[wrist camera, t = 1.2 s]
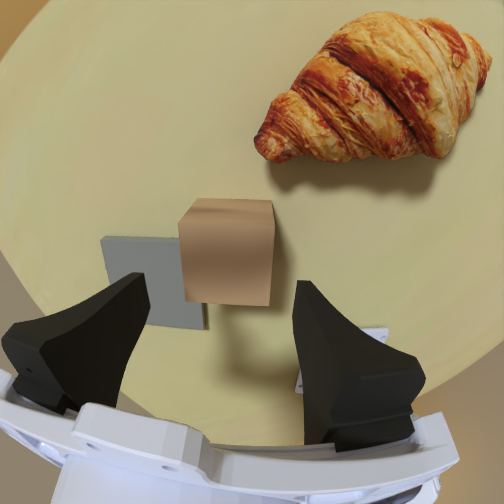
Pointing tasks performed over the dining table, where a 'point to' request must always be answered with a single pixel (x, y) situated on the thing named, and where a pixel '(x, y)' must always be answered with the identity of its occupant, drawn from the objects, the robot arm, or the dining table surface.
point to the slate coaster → (155, 277)
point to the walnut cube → (227, 251)
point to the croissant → (378, 93)
